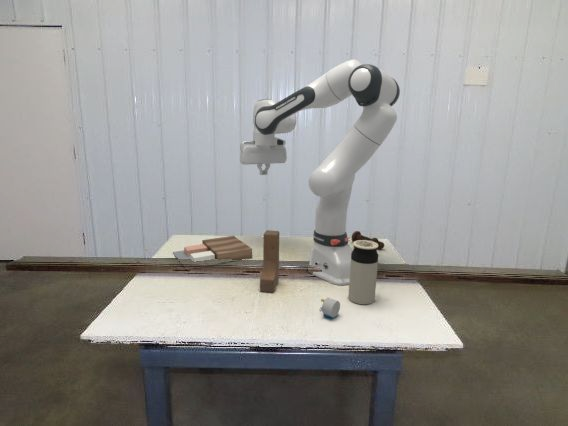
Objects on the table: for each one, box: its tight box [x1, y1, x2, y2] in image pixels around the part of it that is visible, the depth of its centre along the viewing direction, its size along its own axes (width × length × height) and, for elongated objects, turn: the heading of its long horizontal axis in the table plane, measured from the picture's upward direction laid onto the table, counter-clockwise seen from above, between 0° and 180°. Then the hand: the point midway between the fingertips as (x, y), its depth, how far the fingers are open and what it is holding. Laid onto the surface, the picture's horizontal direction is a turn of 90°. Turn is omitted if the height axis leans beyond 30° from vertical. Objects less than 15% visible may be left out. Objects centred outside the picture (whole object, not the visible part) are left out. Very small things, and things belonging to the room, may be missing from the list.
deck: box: [202, 235, 253, 261], centre depth 150 cm, size 19×14×4 cm
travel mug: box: [348, 240, 379, 305], centre depth 111 cm, size 8×8×18 cm
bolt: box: [351, 230, 385, 250], centre depth 163 cm, size 6×5×15 cm
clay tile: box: [183, 244, 207, 257], centre depth 148 cm, size 5×8×2 cm, turn 120°
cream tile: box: [190, 251, 215, 262], centre depth 140 cm, size 5×8×2 cm, turn 120°
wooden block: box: [259, 229, 280, 293], centre depth 119 cm, size 9×4×18 cm, turn 170°
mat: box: [172, 249, 190, 260], centre depth 144 cm, size 20×12×1 cm, turn 30°
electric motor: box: [319, 297, 341, 320], centre depth 103 cm, size 7×5×5 cm
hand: (263, 174), depth 154 cm, fingers closed
